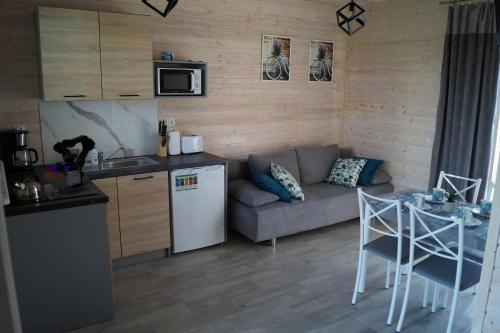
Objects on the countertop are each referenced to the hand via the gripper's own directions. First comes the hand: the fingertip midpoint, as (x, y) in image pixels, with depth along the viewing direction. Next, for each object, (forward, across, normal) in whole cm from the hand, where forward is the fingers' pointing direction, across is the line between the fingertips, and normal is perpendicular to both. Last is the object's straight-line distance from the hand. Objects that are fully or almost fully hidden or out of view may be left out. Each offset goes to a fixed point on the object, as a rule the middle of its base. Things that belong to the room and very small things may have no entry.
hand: (73, 174), depth 273 cm
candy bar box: (-54, +28, +73) cm, 95 cm away
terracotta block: (+3, -14, +15) cm, 21 cm away
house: (-29, +6, +48) cm, 56 cm away
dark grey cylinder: (+7, -15, +10) cm, 20 cm away
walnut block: (+12, -15, +5) cm, 20 cm away
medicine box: (+4, 0, +6) cm, 7 cm away
